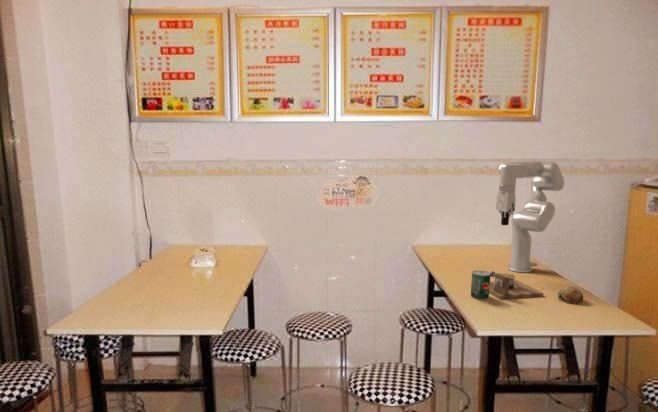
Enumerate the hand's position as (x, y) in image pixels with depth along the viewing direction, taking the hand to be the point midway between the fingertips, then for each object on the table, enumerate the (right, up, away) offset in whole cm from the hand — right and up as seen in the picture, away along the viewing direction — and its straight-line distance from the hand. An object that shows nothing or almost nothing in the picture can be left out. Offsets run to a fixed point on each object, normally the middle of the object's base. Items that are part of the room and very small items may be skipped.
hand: (504, 224), depth 238 cm
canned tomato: (-22, -31, -28) cm, 47 cm away
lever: (-7, -27, -13) cm, 31 cm away
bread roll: (+18, -32, -30) cm, 48 cm away
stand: (-5, -30, -19) cm, 36 cm away
